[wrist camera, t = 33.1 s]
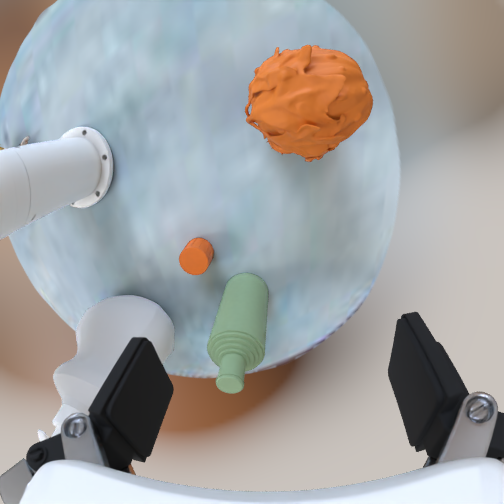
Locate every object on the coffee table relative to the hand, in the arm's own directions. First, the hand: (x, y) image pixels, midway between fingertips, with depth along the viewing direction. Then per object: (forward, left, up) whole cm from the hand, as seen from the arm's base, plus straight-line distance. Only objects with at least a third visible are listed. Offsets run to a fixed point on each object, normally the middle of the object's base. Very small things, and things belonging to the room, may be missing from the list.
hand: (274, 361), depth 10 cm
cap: (-12, -6, -28) cm, 31 cm away
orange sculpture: (+4, +10, -29) cm, 31 cm away
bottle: (-6, -13, -28) cm, 32 cm away
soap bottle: (-26, -16, -29) cm, 41 cm away
